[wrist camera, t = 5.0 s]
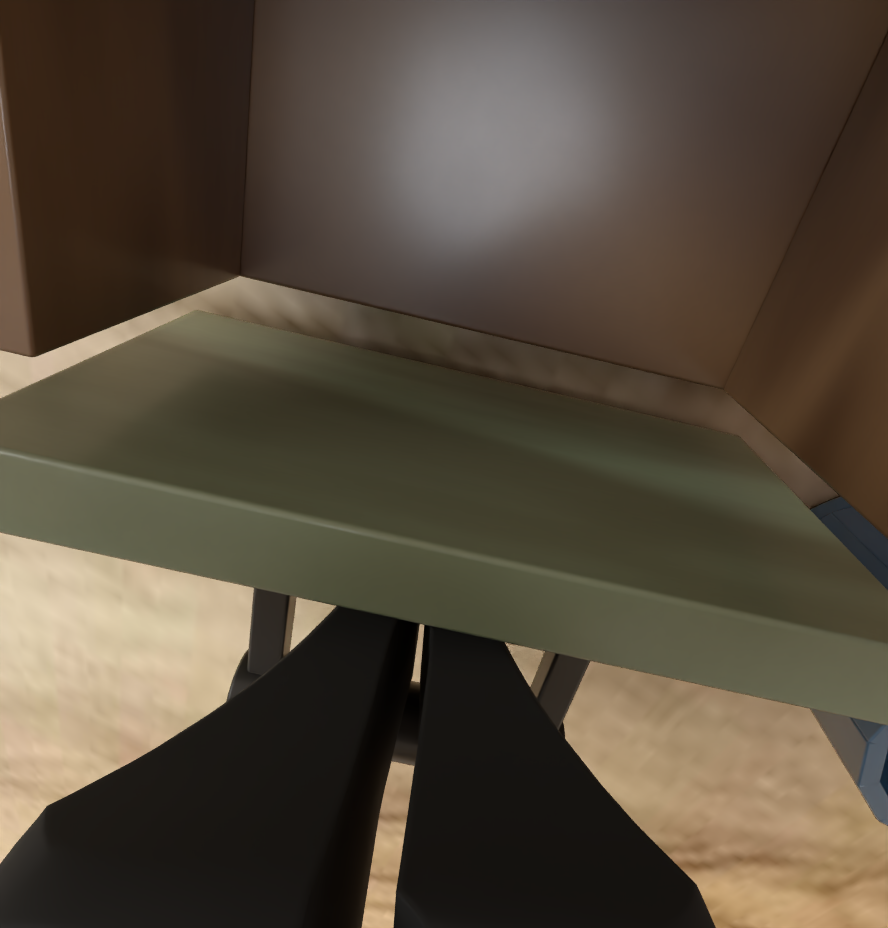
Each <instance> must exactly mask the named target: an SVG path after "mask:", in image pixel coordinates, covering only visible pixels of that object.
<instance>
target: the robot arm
mask: <svg viewBox="0 0 888 928" xmlns="http://www.w3.org/2000/svg"><path fill="white" fill-rule="evenodd" d="M419 625H420V624H419V623H414V622H409V621H405V620H400V619H396V618H391V617H386V616H382V615H377V614H373V613H368V612H363V611H359V610H354V609H350V608H345V607H340V606H336V607H335V609H334V610H333V611H332V612H331V613H330V614H329V615H328V616H327V617H326V618H325V619H324V620H323V621H322V622H321V623H320V624H319V625H318V626H317V627H316V628H315V629H314V630H313V631H312V632H311V633H310V634H309V635H308V636H307V637H306V638H305V639H304V640H302V641H301V642H300V643H299V644H298V645H297V646H296V647H295V648H294V649H293V650H291V651H290V652H289V653H288V654H287V655H286V656H285V657H283V658H282V659H281V660H280V661H279V662H277V663H276V664H275V665H274V666H273V667H272V668H270V669H269V670H268V671H267V672H265V673H264V674H263V675H262V676H260V677H259V678H258V679H256V680H255V681H254V682H252V683H251V684H250V685H249V686H247V687H246V688H245V689H243V690H242V691H241V692H239V693H238V694H237V695H235V696H234V697H233V698H231V699H230V700H229V701H227V702H226V703H224V704H223V705H222V706H220V707H219V708H217V709H216V710H214V711H213V712H212V713H210V714H209V715H207V716H206V717H204V718H202V719H201V720H199V721H198V722H196V723H195V724H193V725H191V726H190V727H188V728H187V729H185V730H184V731H182V732H180V733H179V734H177V735H176V736H174V737H172V738H171V739H169V740H168V741H166V742H165V743H163V744H161V745H160V746H158V747H157V748H155V749H153V750H152V751H150V752H148V753H147V754H145V755H143V756H141V757H140V758H138V759H136V760H134V761H133V762H131V763H129V764H127V765H125V766H123V767H121V768H120V769H118V770H116V771H114V772H112V773H110V774H108V775H106V776H104V777H102V778H101V779H99V780H97V781H95V782H93V783H91V784H89V785H87V786H85V787H84V788H82V789H80V790H78V791H76V792H74V793H72V794H70V795H68V796H66V797H64V798H62V799H60V800H58V801H56V802H54V803H52V804H50V805H48V806H47V807H46V808H45V809H44V811H43V812H42V813H41V815H40V816H39V817H38V818H37V820H36V821H35V822H34V823H33V824H32V825H31V827H30V828H29V829H28V830H27V831H26V832H25V834H24V835H23V836H22V837H21V838H20V839H19V841H18V842H17V843H16V844H15V845H14V847H13V848H12V849H11V851H10V852H9V853H8V855H7V856H6V857H5V859H4V860H3V861H2V862H1V864H0V928H361V927H362V921H363V914H364V908H365V901H366V895H367V888H368V882H369V875H370V869H371V863H372V856H373V850H374V844H375V837H376V831H377V825H378V818H379V813H380V808H381V803H382V798H383V794H384V789H385V785H386V781H387V777H388V773H389V769H390V764H391V760H392V756H393V752H394V748H395V744H396V740H397V736H398V732H399V728H400V724H401V720H402V716H403V712H404V708H405V704H406V700H407V696H408V692H409V688H410V683H411V679H412V675H413V669H414V662H415V654H416V647H417V640H418V632H419ZM394 928H716V927H715V925H714V923H713V920H712V918H711V916H710V914H709V911H708V909H707V907H706V904H705V902H704V900H703V898H702V895H701V893H700V891H699V889H698V887H697V885H696V884H695V883H694V882H693V881H692V880H691V879H690V878H689V877H688V876H687V875H686V874H685V873H684V872H683V871H682V870H681V869H680V868H679V867H678V866H677V865H676V864H675V863H674V862H673V861H672V860H671V859H670V858H669V857H668V856H667V855H666V854H665V853H664V852H663V851H662V850H661V849H660V848H659V847H658V846H657V845H656V844H655V843H654V842H653V841H652V840H651V839H650V838H649V837H648V836H647V835H646V834H645V833H644V832H643V831H642V830H641V829H640V827H639V826H638V825H637V824H636V823H635V822H634V821H633V820H632V819H631V818H630V817H629V816H628V814H627V813H626V812H625V811H624V810H623V809H622V808H621V806H620V805H619V804H618V803H617V802H616V801H615V800H614V799H613V797H612V796H611V795H610V794H609V793H608V792H607V791H606V789H605V788H604V787H603V786H602V785H601V784H600V782H599V781H598V780H597V779H596V777H595V776H594V775H593V774H592V772H591V771H590V770H589V768H588V767H587V766H586V765H585V763H584V762H583V761H582V760H581V758H580V757H579V756H578V755H577V753H576V752H575V751H574V750H573V748H572V747H571V746H570V744H569V743H568V742H567V741H566V739H565V738H564V737H563V736H562V734H561V733H560V731H559V730H558V729H557V727H556V726H555V724H554V723H553V721H552V720H551V719H550V717H549V716H548V714H547V713H546V711H545V710H544V708H543V707H542V706H541V704H540V702H539V701H538V699H537V698H536V696H535V695H534V693H533V691H532V690H531V688H530V687H529V685H528V684H527V682H526V680H525V678H524V677H523V675H522V673H521V672H520V670H519V668H518V666H517V665H516V663H515V661H514V659H513V657H512V655H511V653H510V652H509V650H508V648H507V646H506V644H505V642H502V641H497V640H492V639H488V638H483V637H479V636H474V635H469V634H465V633H460V632H456V631H451V630H446V629H442V628H437V627H433V626H428V625H424V637H423V649H422V662H421V674H420V704H419V737H418V746H417V753H416V760H415V767H414V774H413V781H412V788H411V795H410V802H409V809H408V816H407V823H406V829H405V836H404V843H403V850H402V857H401V863H400V870H399V877H398V883H397V890H396V902H395V916H394Z"/></svg>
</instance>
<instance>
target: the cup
mask: <svg viewBox="0 0 888 928" xmlns="http://www.w3.org/2000/svg"><path fill="white" fill-rule="evenodd" d="M810 510H811V511H812V512H813V513H814V514H815V515H816V517H817V518H818V519H819V520H820V521H821V522H822V523H823V524H824V525H825V526H826V527H827V528H828V529H829V530H830V531H831V532H832V533H833V534H834V535H835V536H836V537H837V538H838V539H839V540H840V541H841V542H842V543H843V544H844V546H845V547H846V548H847V549H848V550H849V551H850V552H851V553H852V554H853V555H854V556H855V557H856V558H857V559H858V560H859V561H860V562H861V563H862V564H863V565H864V566H865V567H866V568H867V569H868V570H869V571H870V572H871V574H872V575H873V576H874V577H875V578H876V579H877V580H878V581H879V582H880V583H881V584H882V585H883V586H884V587H885V588H886V589H887V590H888V539H887V538H886V537H885V536H884V535H883V534H882V533H881V532H880V531H878V530H877V529H876V528H875V527H874V526H873V525H872V524H871V523H870V522H868V521H867V520H866V519H865V518H864V517H863V516H862V515H861V514H860V513H859V512H857V511H856V510H855V509H854V508H853V507H852V506H851V505H850V504H849V503H848V502H846V501H845V500H844V499H843V498H842V497H838V498H835V499H832V500H830V501H827V502H824V503H822V504H820V505H818V506H816V507H814V508H812V509H810ZM810 710H811V712H812V713H813V715H814V717H815V718H816V720H817V722H818V723H819V725H820V727H821V728H822V730H823V732H824V733H825V735H826V737H827V738H828V740H829V742H830V743H831V745H832V747H833V748H834V750H835V752H836V753H837V755H838V757H839V758H840V760H841V762H842V763H843V765H844V766H845V768H846V770H847V771H848V773H849V775H850V776H851V778H852V780H853V781H854V783H855V785H856V786H857V788H858V790H859V791H860V793H861V795H862V796H863V798H864V800H865V801H866V803H867V805H868V806H869V808H870V810H871V811H872V813H873V815H874V816H875V818H876V819H877V820H878V821H879V822H881V823H883V824H885V825H887V826H888V725H884V724H879V723H874V722H870V721H865V720H861V719H856V718H851V717H847V716H842V715H838V714H833V713H828V712H824V711H819V710H815V709H810Z"/></svg>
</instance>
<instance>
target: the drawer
mask: <svg viewBox="0 0 888 928" xmlns="http://www.w3.org/2000/svg"><path fill="white" fill-rule="evenodd" d="M239 276H242V277H246V278H251V279H255V280H259V281H263V282H268V283H272V284H276V285H280V286H285V287H289V288H293V289H297V290H302V291H306V292H310V293H314V294H319V295H323V296H327V297H331V298H336V299H340V300H344V301H348V302H353V303H357V304H361V305H365V306H370V307H374V308H378V309H382V310H387V311H391V312H395V313H399V314H404V315H408V316H412V317H416V318H421V319H425V320H429V321H434V322H438V323H442V324H446V325H451V326H455V327H459V328H463V329H468V330H472V331H476V332H480V333H485V334H489V335H493V336H497V337H502V338H506V339H510V340H514V341H519V342H523V343H527V344H531V345H536V346H540V347H544V348H548V349H553V350H557V351H561V352H565V353H570V354H574V355H578V356H582V357H587V358H591V359H595V360H599V361H604V362H608V363H612V364H616V365H621V366H625V367H629V368H633V369H638V370H642V371H646V372H650V373H655V374H659V375H663V376H667V377H672V378H676V379H680V380H684V381H689V382H693V383H697V384H701V385H706V386H710V387H714V388H718V389H723V390H724V391H725V392H726V393H727V394H729V395H730V396H731V397H732V398H733V399H734V400H735V401H736V402H737V403H738V404H740V405H741V406H742V407H743V408H744V409H745V410H746V411H747V412H748V413H750V414H751V415H752V416H753V417H754V418H755V419H756V420H757V421H758V422H759V423H761V424H762V425H763V426H764V427H765V428H766V429H767V430H768V431H769V432H770V433H772V434H773V435H774V436H775V437H776V438H777V439H778V440H779V441H780V442H781V443H783V444H784V445H785V446H786V447H787V448H788V449H789V450H790V451H791V452H792V453H794V454H795V455H796V456H797V457H798V458H799V459H800V460H801V461H802V462H803V463H805V464H806V465H807V466H808V467H809V468H810V469H811V470H812V471H813V472H815V473H816V474H817V475H818V476H819V477H820V478H821V479H822V480H823V481H824V482H826V483H827V484H828V485H829V486H830V487H831V488H832V489H833V490H834V491H835V492H837V493H838V494H839V495H840V496H841V497H842V498H843V499H844V500H845V501H846V502H848V503H849V504H850V505H851V506H852V507H853V508H854V509H855V510H856V511H857V512H859V513H860V514H861V515H862V516H863V517H864V518H865V519H866V520H867V521H868V522H870V523H871V524H872V525H873V526H874V527H875V528H876V529H877V530H878V531H880V532H881V533H882V534H883V535H884V536H885V537H886V538H887V539H888V0H0V350H2V351H6V352H11V353H15V354H19V355H24V356H28V357H36V356H39V355H41V354H44V353H46V352H49V351H51V350H54V349H56V348H59V347H61V346H64V345H67V344H69V343H72V342H74V341H77V340H79V339H82V338H84V337H87V336H89V335H92V334H94V333H97V332H99V331H102V330H105V329H107V328H110V327H112V326H115V325H117V324H120V323H122V322H125V321H127V320H130V319H132V318H135V317H137V316H140V315H143V314H145V313H148V312H150V311H153V310H155V309H158V308H160V307H163V306H165V305H168V304H170V303H173V302H175V301H178V300H181V299H183V298H186V297H188V296H191V295H193V294H196V293H198V292H201V291H203V290H206V289H208V288H211V287H213V286H216V285H219V284H221V283H224V282H226V281H229V280H231V279H234V278H236V277H239ZM0 533H4V534H9V535H14V536H18V537H23V538H27V539H32V540H37V541H41V542H46V543H51V544H55V545H60V546H64V547H69V548H74V549H78V550H83V551H87V552H92V553H97V554H101V555H106V556H110V557H115V558H120V559H124V560H129V561H133V562H138V563H143V564H147V565H152V566H156V567H161V568H166V569H170V570H175V571H179V572H184V573H189V574H193V575H198V576H202V577H207V578H212V579H216V580H221V581H225V582H230V583H235V584H239V585H244V586H248V587H253V588H254V593H253V605H252V617H251V629H250V641H249V649H248V650H247V651H246V653H245V654H244V656H243V657H242V659H241V661H240V663H239V665H238V667H237V670H236V672H235V675H234V677H233V680H232V683H231V686H230V690H229V693H228V697H227V701H229V700H230V699H231V698H233V697H234V696H235V695H237V694H238V693H239V692H241V691H242V690H243V689H245V688H246V687H247V686H249V685H250V684H251V683H252V682H254V681H255V680H256V679H258V678H259V677H260V676H262V675H263V674H264V673H265V672H267V671H268V670H269V669H270V668H272V667H273V666H274V665H275V664H276V663H277V662H279V661H280V660H281V659H282V658H283V657H285V656H286V655H287V654H288V653H289V652H290V645H291V637H292V629H293V621H294V613H295V605H296V598H297V597H299V598H304V599H308V600H313V601H317V602H322V603H327V604H331V605H336V606H340V607H345V608H350V609H354V610H359V611H363V612H368V613H373V614H377V615H382V616H386V617H391V618H396V619H400V620H405V621H409V622H414V623H419V624H423V625H428V626H433V627H437V628H442V629H446V630H451V631H456V632H460V633H465V634H469V635H474V636H479V637H483V638H488V639H492V640H497V641H502V642H506V643H511V644H515V645H520V646H525V647H529V648H534V649H538V650H543V651H545V653H544V655H543V658H542V660H541V662H540V665H539V667H538V670H537V672H536V675H535V677H534V680H533V682H532V685H531V687H530V688H531V690H532V691H533V693H534V695H535V696H536V698H537V699H538V701H539V702H540V704H541V706H542V707H543V708H544V710H545V711H546V713H547V714H548V716H549V717H550V719H551V720H552V721H553V723H554V724H555V726H556V727H557V729H558V730H559V731H560V733H561V734H562V736H563V737H564V738H565V731H564V724H563V720H564V717H565V715H566V713H567V711H568V709H569V706H570V704H571V702H572V700H573V698H574V695H575V693H576V691H577V689H578V687H579V685H580V682H581V680H582V678H583V676H584V674H585V671H586V669H587V667H588V665H589V663H590V661H594V662H598V663H603V664H607V665H612V666H617V667H621V668H626V669H630V670H635V671H640V672H644V673H649V674H653V675H658V676H663V677H667V678H672V679H676V680H681V681H686V682H690V683H695V684H699V685H704V686H709V687H713V688H718V689H722V690H727V691H732V692H736V693H741V694H745V695H750V696H755V697H759V698H764V699H768V700H773V701H778V702H782V703H787V704H791V705H796V706H801V707H805V708H810V709H815V710H819V711H824V712H828V713H833V714H838V715H842V716H847V717H851V718H856V719H861V720H865V721H870V722H874V723H879V724H884V725H888V590H887V589H886V588H885V587H884V586H883V585H882V584H881V583H880V582H879V581H878V580H877V579H876V578H875V577H874V576H873V575H872V574H871V572H870V571H869V570H868V569H867V568H866V567H865V566H864V565H863V564H862V563H861V562H860V561H859V560H858V559H857V558H856V557H855V556H854V555H853V554H852V553H851V552H850V551H849V550H848V549H847V548H846V547H845V546H844V544H843V543H842V542H841V541H840V540H839V539H838V538H837V537H836V536H835V535H834V534H833V533H832V532H831V531H830V530H829V529H828V528H827V527H826V526H825V525H824V524H823V523H822V522H821V521H820V520H819V519H818V518H817V517H816V515H815V514H814V513H813V512H812V511H811V510H810V509H809V508H808V507H807V506H806V505H805V504H804V503H803V502H802V501H801V500H800V499H799V498H798V497H797V496H796V495H795V494H794V493H793V492H792V491H791V490H790V489H789V487H788V486H787V485H786V484H785V483H784V482H783V481H782V480H781V479H780V478H779V477H778V476H777V475H776V474H775V473H774V472H773V471H772V470H771V469H770V468H769V467H768V466H767V465H766V464H765V463H764V462H763V461H762V459H761V458H760V457H759V456H758V455H757V454H756V453H755V452H754V451H753V450H752V449H751V448H750V447H749V446H748V445H747V444H746V443H745V442H744V441H743V440H742V439H741V438H740V437H739V436H736V435H732V434H728V433H724V432H719V431H715V430H711V429H706V428H702V427H698V426H693V425H689V424H685V423H681V422H676V421H672V420H668V419H663V418H659V417H655V416H650V415H646V414H642V413H638V412H633V411H629V410H625V409H620V408H616V407H612V406H607V405H603V404H599V403H595V402H590V401H586V400H582V399H577V398H573V397H569V396H564V395H560V394H556V393H552V392H547V391H543V390H539V389H534V388H530V387H526V386H521V385H517V384H513V383H509V382H504V381H500V380H496V379H491V378H487V377H483V376H478V375H474V374H470V373H466V372H461V371H457V370H453V369H448V368H444V367H440V366H436V365H431V364H427V363H423V362H418V361H414V360H410V359H405V358H401V357H397V356H393V355H388V354H384V353H380V352H375V351H371V350H367V349H362V348H358V347H354V346H350V345H345V344H341V343H337V342H332V341H328V340H324V339H319V338H315V337H311V336H307V335H302V334H298V333H294V332H289V331H285V330H281V329H276V328H272V327H268V326H264V325H259V324H255V323H251V322H246V321H242V320H238V319H233V318H229V317H225V316H221V315H216V314H212V313H208V312H203V311H199V310H196V311H193V312H191V313H188V314H186V315H184V316H182V317H180V318H177V319H175V320H173V321H171V322H168V323H166V324H164V325H162V326H160V327H157V328H155V329H153V330H151V331H149V332H146V333H144V334H142V335H140V336H137V337H135V338H133V339H131V340H129V341H126V342H124V343H122V344H120V345H118V346H115V347H113V348H111V349H109V350H107V351H104V352H102V353H100V354H98V355H95V356H93V357H91V358H89V359H87V360H84V361H82V362H80V363H78V364H76V365H73V366H71V367H69V368H67V369H64V370H62V371H60V372H58V373H56V374H53V375H51V376H49V377H47V378H45V379H42V380H40V381H38V382H36V383H33V384H31V385H29V386H27V387H25V388H22V389H20V390H18V391H16V392H14V393H11V394H9V395H7V396H5V397H2V398H0ZM227 701H226V702H227ZM419 704H420V683H419V682H414V681H411V683H410V688H409V692H408V696H407V700H406V704H405V708H404V712H403V716H402V720H401V724H400V728H399V732H398V736H397V740H396V744H395V748H394V752H393V756H392V760H391V761H394V762H398V763H403V764H408V765H413V766H415V760H416V753H417V746H418V737H419Z"/></svg>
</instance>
